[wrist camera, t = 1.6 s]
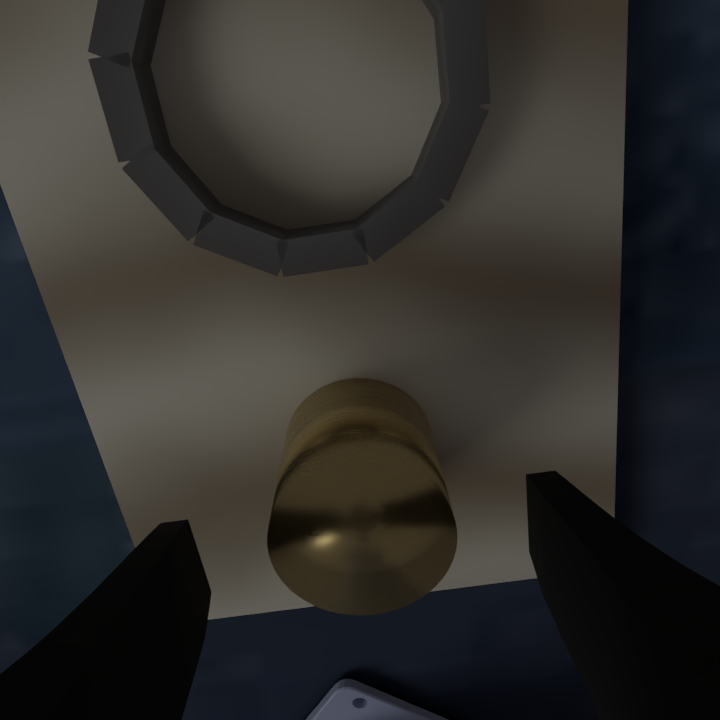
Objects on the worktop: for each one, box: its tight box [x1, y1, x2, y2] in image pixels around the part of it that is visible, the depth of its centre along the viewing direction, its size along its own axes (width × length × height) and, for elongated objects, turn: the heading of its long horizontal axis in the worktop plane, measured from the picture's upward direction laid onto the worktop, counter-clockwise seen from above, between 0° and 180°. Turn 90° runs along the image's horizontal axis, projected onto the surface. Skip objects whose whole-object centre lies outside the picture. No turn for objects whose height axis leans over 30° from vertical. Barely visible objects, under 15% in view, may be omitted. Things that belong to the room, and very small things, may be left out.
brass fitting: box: [267, 378, 457, 615], centre depth 14 cm, size 4×4×4 cm
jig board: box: [0, 0, 628, 620], centre depth 14 cm, size 20×14×2 cm
